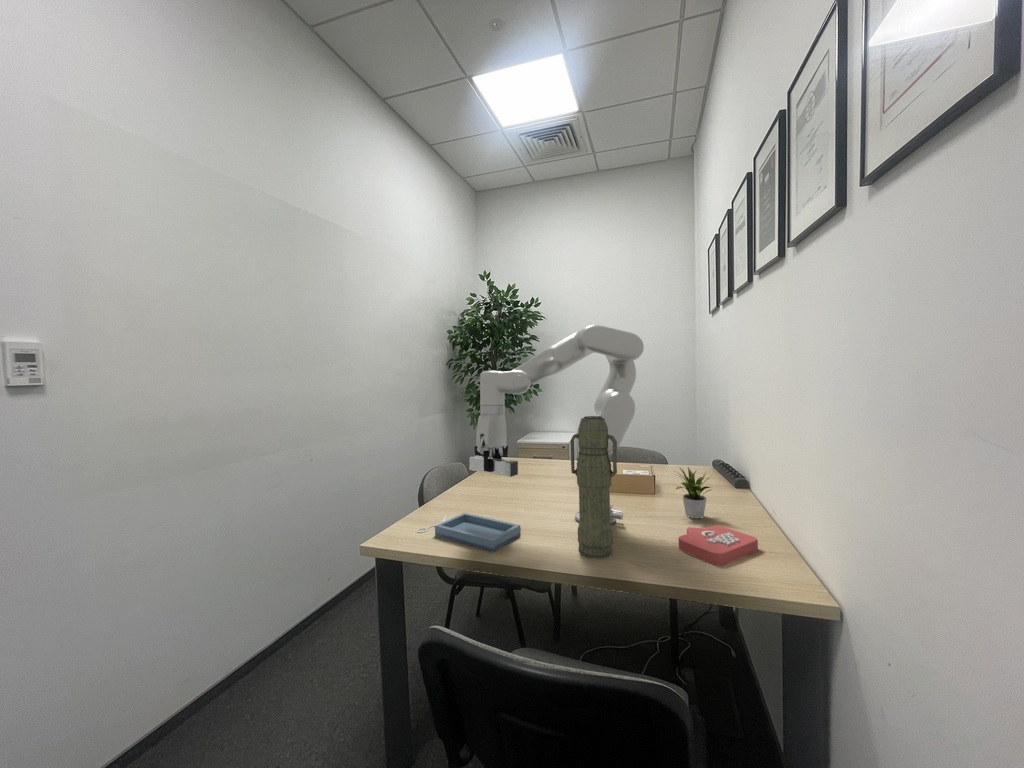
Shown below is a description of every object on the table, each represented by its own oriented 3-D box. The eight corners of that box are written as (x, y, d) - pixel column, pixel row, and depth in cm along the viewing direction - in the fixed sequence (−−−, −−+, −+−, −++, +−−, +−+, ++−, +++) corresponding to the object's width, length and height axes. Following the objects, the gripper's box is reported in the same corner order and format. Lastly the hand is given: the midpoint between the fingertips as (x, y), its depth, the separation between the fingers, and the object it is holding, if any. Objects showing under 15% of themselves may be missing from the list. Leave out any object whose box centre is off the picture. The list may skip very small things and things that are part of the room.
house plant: (657, 512, 131) (656, 463, 131) (687, 506, 137) (686, 459, 137) (693, 526, 118) (692, 472, 118) (724, 518, 124) (723, 467, 124)
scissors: (412, 533, 116) (438, 511, 135) (412, 536, 116) (438, 513, 135) (446, 536, 114) (468, 512, 133) (446, 538, 114) (468, 514, 133)
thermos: (620, 560, 97) (617, 418, 96) (571, 556, 99) (569, 418, 99) (618, 545, 105) (615, 415, 105) (573, 542, 108) (571, 415, 108)
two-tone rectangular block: (517, 474, 118) (517, 461, 118) (510, 476, 115) (510, 463, 115) (476, 467, 127) (476, 455, 127) (469, 469, 124) (469, 457, 124)
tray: (520, 535, 113) (520, 525, 113) (493, 552, 102) (493, 540, 102) (464, 522, 125) (464, 512, 125) (435, 535, 114) (434, 525, 114)
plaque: (707, 519, 114) (761, 536, 101) (707, 532, 114) (761, 551, 101) (666, 532, 105) (718, 552, 92) (666, 546, 105) (718, 568, 92)
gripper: (499, 408, 130) (499, 464, 130) (465, 412, 116) (465, 473, 116) (517, 409, 125) (518, 466, 126) (484, 413, 112) (485, 477, 112)
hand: (492, 469), depth 121 cm, fingers closed on two-tone rectangular block, 3 cm apart
